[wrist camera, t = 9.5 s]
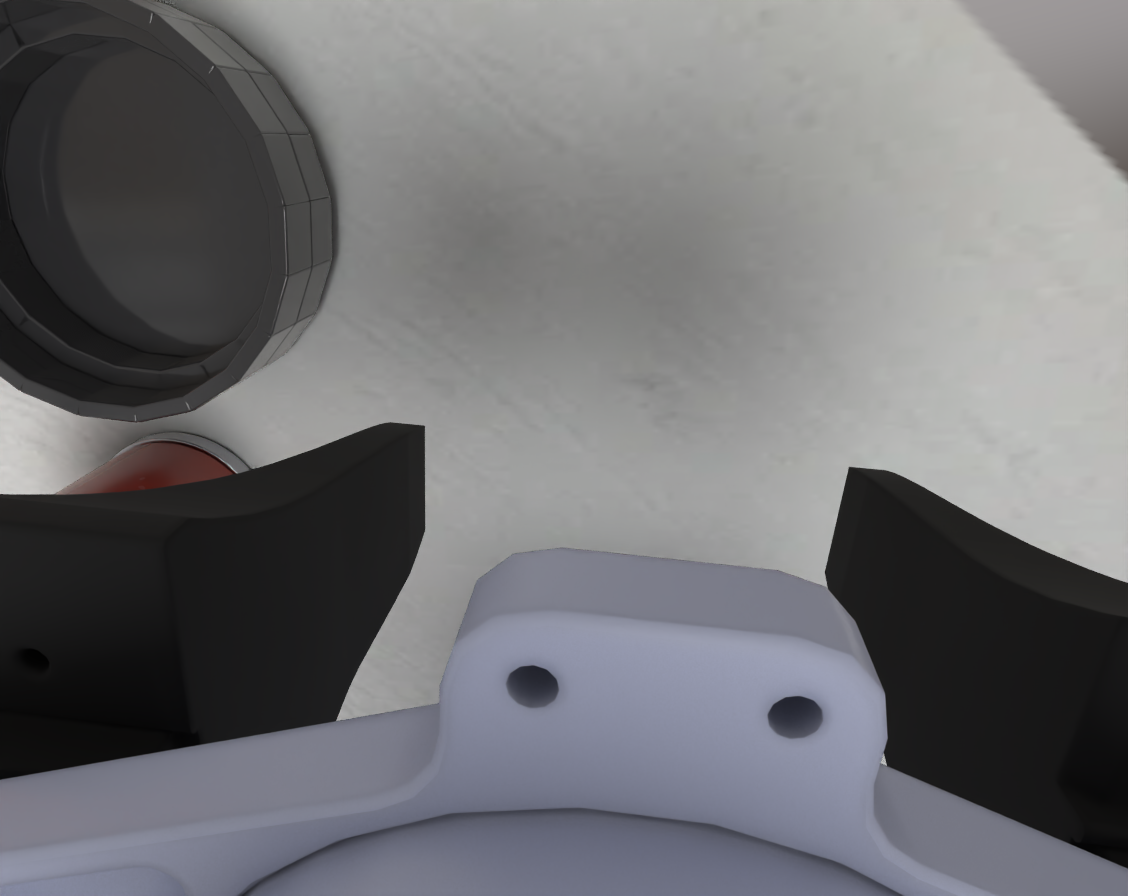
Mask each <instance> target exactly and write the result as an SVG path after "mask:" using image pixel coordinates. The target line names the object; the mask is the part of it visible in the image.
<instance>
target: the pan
mask: <svg viewBox="0 0 1128 896" xmlns="http://www.w3.org/2000/svg"><path fill="white" fill-rule="evenodd" d="M309 134H310V132H309V130H308V129H307V127H306V126H305V124H304V122H303V121H302V119H301V118H300V116H299V115H298V113H297V112H296V110H295V109H294V107H293V106H292V104H291V102H290V101H289V99H288V98H287V96H286V95H285V93H284V92H283V90H282V89H281V87H280V86H279V84H278V82H277V81H276V79H275V78H274V77H273V76H272V75H271V73H270V72H269V71H267V70H266V69H265V68H264V67H263V66H262V65H261V64H260V63H258V62H257V61H256V60H255V59H254V58H253V57H252V56H250V55H249V54H248V53H247V52H246V51H245V50H244V49H242V48H241V47H240V46H239V45H238V44H237V43H236V42H235V41H233V40H232V39H231V38H230V37H229V36H228V35H227V34H225V33H224V32H223V31H222V30H219V29H218V28H217V27H215V26H213V25H211V24H208V23H206V22H204V21H202V20H200V19H197V18H195V17H193V16H191V15H189V14H186V13H184V12H182V11H180V10H178V9H175V8H173V7H171V6H169V5H167V4H164V3H162V2H159V1H155V0H0V377H2V378H3V379H4V380H6V381H7V382H8V383H10V384H11V385H12V386H14V387H15V388H16V389H18V390H20V391H21V392H23V393H25V394H28V395H30V396H33V397H35V398H37V399H40V400H42V401H45V402H47V403H49V404H52V405H54V406H57V407H59V408H61V409H64V410H66V411H69V412H71V413H73V414H76V415H80V416H86V417H94V418H103V419H111V420H120V421H128V422H144V421H149V420H153V419H158V418H163V417H168V416H173V415H178V414H182V413H187V412H191V411H193V410H196V409H198V408H199V407H201V406H203V405H204V404H206V403H207V402H209V401H211V400H212V399H214V398H216V397H217V396H219V395H221V394H222V393H224V392H226V391H227V390H229V389H231V388H232V387H234V386H236V385H237V384H239V383H240V382H242V381H244V380H245V379H247V378H249V377H250V376H252V375H253V374H255V373H256V372H258V371H260V370H261V369H263V368H264V367H266V366H267V365H269V364H271V363H272V362H274V361H275V360H277V359H279V358H280V357H282V356H283V355H285V353H287V351H288V350H289V349H290V347H291V346H292V345H293V343H294V342H295V341H296V339H297V338H298V337H299V335H300V334H301V333H302V331H303V330H304V329H305V327H306V326H307V325H308V323H309V322H310V321H311V319H312V318H313V316H314V315H315V313H316V311H317V308H318V305H319V302H320V298H321V295H322V292H323V288H324V285H325V282H326V278H327V275H328V272H329V268H330V265H331V262H332V259H331V258H332V257H333V256H332V211H331V198H330V197H329V196H330V194H329V191H328V188H327V184H326V181H325V178H324V175H323V172H322V169H321V166H320V162H319V159H318V156H317V153H316V150H315V147H314V143H313V140H312V137H311V136H310V135H309Z"/></svg>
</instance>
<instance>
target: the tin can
mask: <svg viewBox="0 0 1128 896" xmlns="http://www.w3.org/2000/svg"><path fill="white" fill-rule="evenodd" d="M249 470H250V469H249V468H248V467H247V466H246V465H245V464H244V463H243V462H242V461H241V460H240V459H239V458H238V457H237V456H235V455H234V454H233V453H231V452H230V451H228V450H227V449H226V448H224V447H222V446H220V445H218V444H217V443H215V442H212V441H210V440H208V439H205V438H202V437H199V436H196V435H192V434H186V433H176V432H167V433H158V434H153V435H149V436H146V437H144V438H141V439H139V440H137V441H135V442H134V443H132V444H130V445H129V446H127V447H125V448H124V449H122V450H121V451H120V452H118V453H117V454H116V455H115V456H114V457H113V458H112V459H111V460H110V461H109V462H107V463H105V464H104V465H102V466H100V467H99V468H97V469H95V470H94V471H92V472H90V473H89V474H87V475H85V476H84V477H82V478H80V479H79V480H77V481H75V482H74V483H72V484H70V485H69V486H67V487H66V488H64V489H62V490H61V491H59V492H57V493H56V494H54V495H57V494H93V493H109V492H123V491H134V490H144V489H153V488H160V487H167V486H173V485H179V484H185V483H192V482H198V481H204V480H210V479H215V478H220V477H224V476H228V475H232V474H236V473H241V472H245V471H249Z"/></svg>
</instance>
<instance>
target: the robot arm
mask: <svg viewBox="0 0 1128 896" xmlns="http://www.w3.org/2000/svg"><path fill="white" fill-rule="evenodd" d="M424 532H425V426H422V425H412V424H402V423H391V422H390V423H383V424H379V425H376V426H373V427H370V428H367V429H365V430H362V431H359V432H357V433H354V434H352V435H349V436H346V437H344V438H341V439H339V440H336V441H334V442H331V443H329V444H326V445H324V446H321V447H318V448H316V449H313V450H310V451H307V452H304V453H302V454H299V455H296V456H293V457H290V458H287V459H284V460H281V461H278V462H276V463H273V464H269V465H266V466H263V467H259V468H256V469H252V470H249V471H245V472H241V473H236V474H232V475H228V476H224V477H220V478H215V479H210V480H204V481H198V482H192V483H185V484H179V485H173V486H167V487H160V488H153V489H144V490H134V491H123V492H109V493H93V494H57V495H9V494H0V896H1128V583H1126V582H1123V581H1120V580H1117V579H1114V578H1111V577H1108V576H1106V575H1103V574H1100V573H1097V572H1094V571H1092V570H1089V569H1087V568H1084V567H1082V566H1079V565H1077V564H1074V563H1072V562H1070V561H1067V560H1065V559H1062V558H1060V557H1057V556H1055V555H1052V554H1050V553H1048V552H1045V551H1043V550H1041V549H1039V548H1037V547H1034V546H1032V545H1030V544H1028V543H1026V542H1024V541H1022V540H1020V539H1018V538H1016V537H1014V536H1012V535H1010V534H1008V533H1006V532H1004V531H1002V530H1000V529H998V528H996V527H994V526H992V525H990V524H988V523H986V522H985V521H983V520H981V519H979V518H977V517H975V516H973V515H972V514H970V513H968V512H966V511H964V510H963V509H961V508H959V507H957V506H956V505H954V504H952V503H950V502H948V501H947V500H945V499H943V498H941V497H940V496H938V495H936V494H934V493H933V492H931V491H929V490H927V489H925V488H924V487H922V486H920V485H918V484H916V483H914V482H912V481H910V480H908V479H907V478H904V477H902V476H900V475H898V474H895V473H893V472H890V471H886V470H875V469H865V468H855V467H849V469H848V474H847V478H846V483H845V487H844V491H843V496H842V500H841V504H840V509H839V513H838V517H837V522H836V526H835V531H834V535H833V539H832V544H831V548H830V552H829V557H828V561H827V565H826V570H825V575H826V581H827V586H828V589H827V588H826V587H824V586H822V585H819V584H816V583H813V582H810V581H807V580H804V579H801V578H799V577H796V576H793V575H790V574H787V573H784V572H781V571H778V570H770V569H760V568H751V567H741V566H732V565H722V564H713V563H703V562H694V561H684V560H675V559H665V558H656V557H646V556H637V555H627V554H618V553H608V552H599V551H589V550H580V549H570V548H555V549H547V550H539V551H531V552H523V553H515V554H512V555H511V556H509V557H508V558H507V559H505V560H504V561H502V562H501V563H500V564H498V565H497V566H496V567H494V568H493V569H492V570H490V571H489V572H488V573H486V574H485V575H483V576H482V577H481V578H479V579H478V580H477V582H476V585H475V588H474V590H473V593H472V596H471V599H470V602H469V604H468V607H467V610H466V613H465V615H464V618H463V621H462V624H461V627H460V629H459V632H458V635H457V638H456V641H455V643H454V646H453V649H452V652H451V655H450V658H449V661H448V663H447V666H446V669H445V672H444V675H443V678H442V681H441V684H440V702H439V703H438V704H432V705H426V706H421V707H415V708H409V709H403V710H398V711H392V712H386V713H380V714H375V715H369V716H363V717H357V718H352V719H346V720H340V721H336V719H337V717H338V714H339V712H340V709H341V707H342V704H343V702H344V699H345V697H346V694H347V692H348V689H349V687H350V685H351V683H352V681H353V679H354V677H355V674H356V672H357V670H358V668H359V666H360V664H361V662H362V661H363V659H364V657H365V655H366V653H367V652H368V650H369V648H370V646H371V644H372V642H373V641H374V639H375V637H376V635H377V633H378V632H379V630H380V628H381V626H382V624H383V623H384V621H385V619H386V617H387V615H388V614H389V612H390V610H391V608H392V606H393V604H394V603H395V601H396V599H397V597H398V595H399V593H400V591H401V590H402V588H403V586H404V584H405V582H406V580H407V578H408V576H409V574H410V572H411V569H412V567H413V564H414V561H415V559H416V556H417V553H418V550H419V547H420V544H421V541H422V538H423V535H424ZM883 753H884V755H885V759H886V763H887V766H885V765H883V764H881V759H882V756H883Z"/></svg>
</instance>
